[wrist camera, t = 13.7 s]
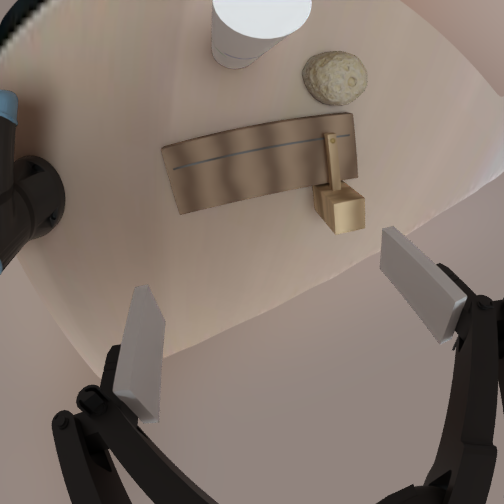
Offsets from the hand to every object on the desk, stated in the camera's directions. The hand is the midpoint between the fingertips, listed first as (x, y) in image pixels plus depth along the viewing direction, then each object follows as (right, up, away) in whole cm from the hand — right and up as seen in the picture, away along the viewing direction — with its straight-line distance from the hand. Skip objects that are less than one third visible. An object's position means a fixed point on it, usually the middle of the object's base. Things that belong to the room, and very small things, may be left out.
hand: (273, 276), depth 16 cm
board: (+1, +16, +30) cm, 34 cm away
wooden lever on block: (+11, +15, +32) cm, 38 cm away
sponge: (+11, +29, +25) cm, 40 cm away
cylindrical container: (-4, +32, +21) cm, 38 cm away
